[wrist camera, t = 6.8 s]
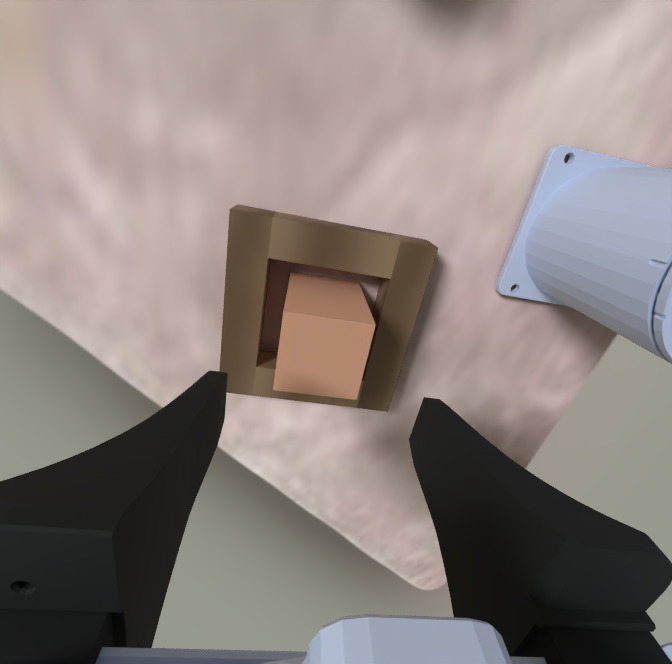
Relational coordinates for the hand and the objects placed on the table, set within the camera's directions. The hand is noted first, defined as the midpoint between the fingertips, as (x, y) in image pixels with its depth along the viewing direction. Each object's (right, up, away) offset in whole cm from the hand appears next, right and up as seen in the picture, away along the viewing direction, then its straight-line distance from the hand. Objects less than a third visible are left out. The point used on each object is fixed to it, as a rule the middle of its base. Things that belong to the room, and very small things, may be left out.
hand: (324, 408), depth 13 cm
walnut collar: (-1, +4, +8) cm, 9 cm away
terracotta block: (-1, +4, +8) cm, 10 cm away
